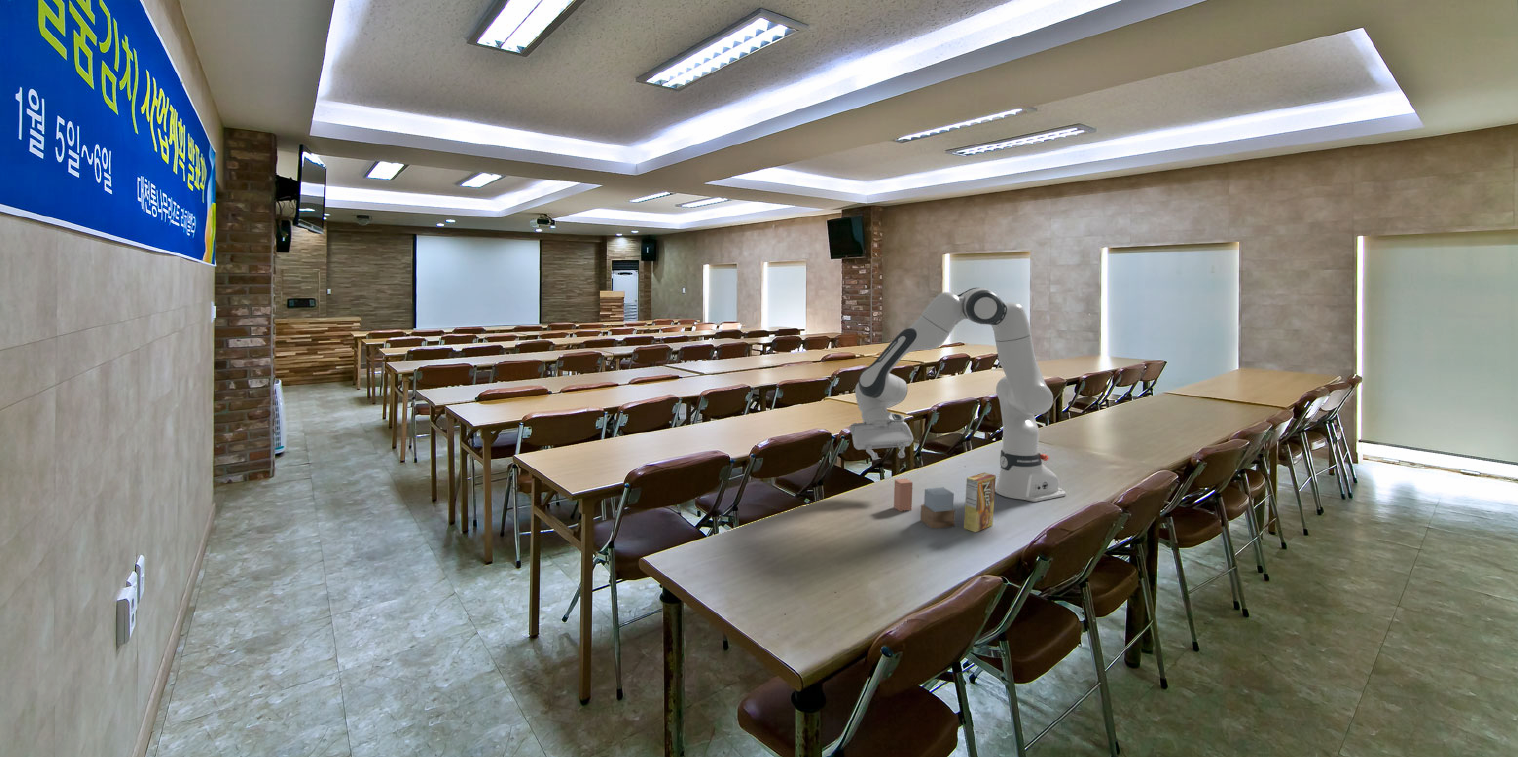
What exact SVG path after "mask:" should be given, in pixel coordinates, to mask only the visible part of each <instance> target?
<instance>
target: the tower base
mask: <svg viewBox="0 0 1518 757" xmlns="http://www.w3.org/2000/svg"><path fill="white" fill-rule="evenodd" d="M955 513H956V511H955V509H953V510H950V511H940V512H934V511H932V510H931V509H929V508H928V507H926V506H925V505H924V503H923V504H921V505H920V521H921V522H922V521H923V522H922V523H923V524H925V523H926V524H927V525H926V524H925V525H926V526H928V527H929V526H930V527H929V528H930V529H932V530H934V529H933V528H935V529H942V528H944V527H945V528H952V526H954V527H955V518H956V517H955V516H956V515H955Z"/></svg>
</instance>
